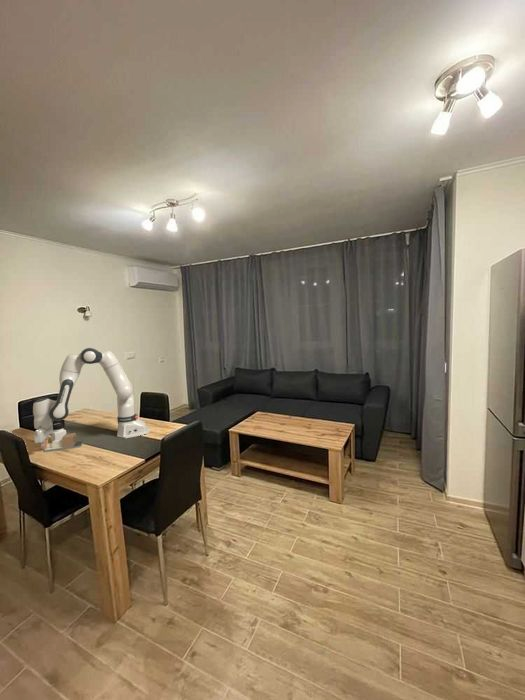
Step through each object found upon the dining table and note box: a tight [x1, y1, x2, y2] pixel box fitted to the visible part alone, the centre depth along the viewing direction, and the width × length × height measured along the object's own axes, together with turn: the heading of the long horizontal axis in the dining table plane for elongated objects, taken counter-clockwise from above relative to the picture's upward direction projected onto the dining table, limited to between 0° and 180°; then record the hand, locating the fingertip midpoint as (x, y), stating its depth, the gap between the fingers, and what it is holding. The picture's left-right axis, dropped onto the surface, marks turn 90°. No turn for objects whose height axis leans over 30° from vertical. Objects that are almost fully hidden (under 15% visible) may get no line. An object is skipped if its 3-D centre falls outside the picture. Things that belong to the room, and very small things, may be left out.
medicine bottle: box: [50, 422, 67, 443], centre depth 200 cm, size 7×7×12 cm
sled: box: [40, 438, 63, 450], centre depth 188 cm, size 12×4×5 cm, turn 109°
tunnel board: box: [43, 432, 84, 453], centre depth 190 cm, size 20×8×8 cm, turn 109°
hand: (44, 444), depth 186 cm, fingers closed on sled, 3 cm apart
